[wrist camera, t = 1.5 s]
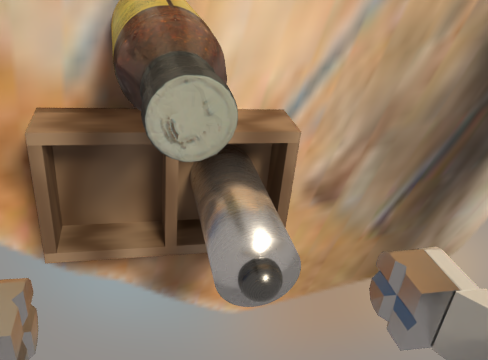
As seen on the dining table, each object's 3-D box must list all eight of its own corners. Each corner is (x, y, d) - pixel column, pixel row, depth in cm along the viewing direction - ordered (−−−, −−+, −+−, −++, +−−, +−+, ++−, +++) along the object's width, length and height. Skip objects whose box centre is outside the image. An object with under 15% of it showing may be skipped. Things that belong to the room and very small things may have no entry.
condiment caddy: (283, 109, 42) (301, 131, 37) (268, 218, 47) (282, 247, 43) (36, 107, 37) (24, 132, 33) (53, 228, 43) (45, 263, 38)
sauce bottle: (109, 56, 36) (92, 180, 19) (116, -28, 33) (103, 31, 16) (190, 69, 38) (239, 192, 21) (203, -10, 35) (272, 60, 18)
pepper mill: (256, 144, 42) (317, 254, 28) (250, 199, 45) (302, 323, 31) (191, 145, 40) (222, 261, 27) (189, 202, 43) (216, 332, 30)
